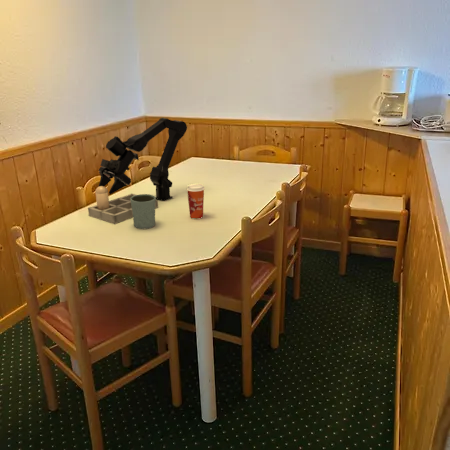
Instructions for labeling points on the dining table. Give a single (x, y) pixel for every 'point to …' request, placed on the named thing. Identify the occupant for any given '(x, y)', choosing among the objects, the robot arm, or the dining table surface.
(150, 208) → the grey green pot
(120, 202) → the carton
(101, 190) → the beige capped bottle
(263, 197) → the dining table surface
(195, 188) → the paper cup
